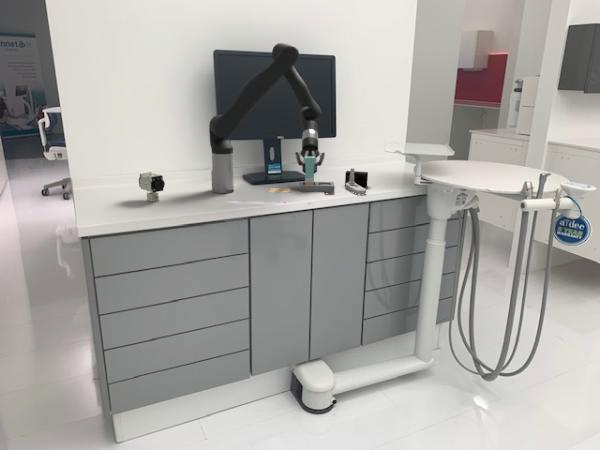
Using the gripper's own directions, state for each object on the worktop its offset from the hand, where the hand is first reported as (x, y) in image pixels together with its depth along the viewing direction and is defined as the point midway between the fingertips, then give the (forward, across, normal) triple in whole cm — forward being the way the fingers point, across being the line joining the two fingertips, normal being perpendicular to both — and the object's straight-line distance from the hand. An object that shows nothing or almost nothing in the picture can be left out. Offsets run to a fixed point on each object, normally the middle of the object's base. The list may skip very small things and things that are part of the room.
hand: (309, 172), depth 214 cm
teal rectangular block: (+3, 0, +5) cm, 6 cm away
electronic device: (+4, +21, +9) cm, 24 cm away
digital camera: (-3, +22, +16) cm, 28 cm away
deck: (+8, -14, +5) cm, 16 cm away
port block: (+5, +3, +8) cm, 10 cm away
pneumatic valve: (+22, -65, -9) cm, 69 cm away
